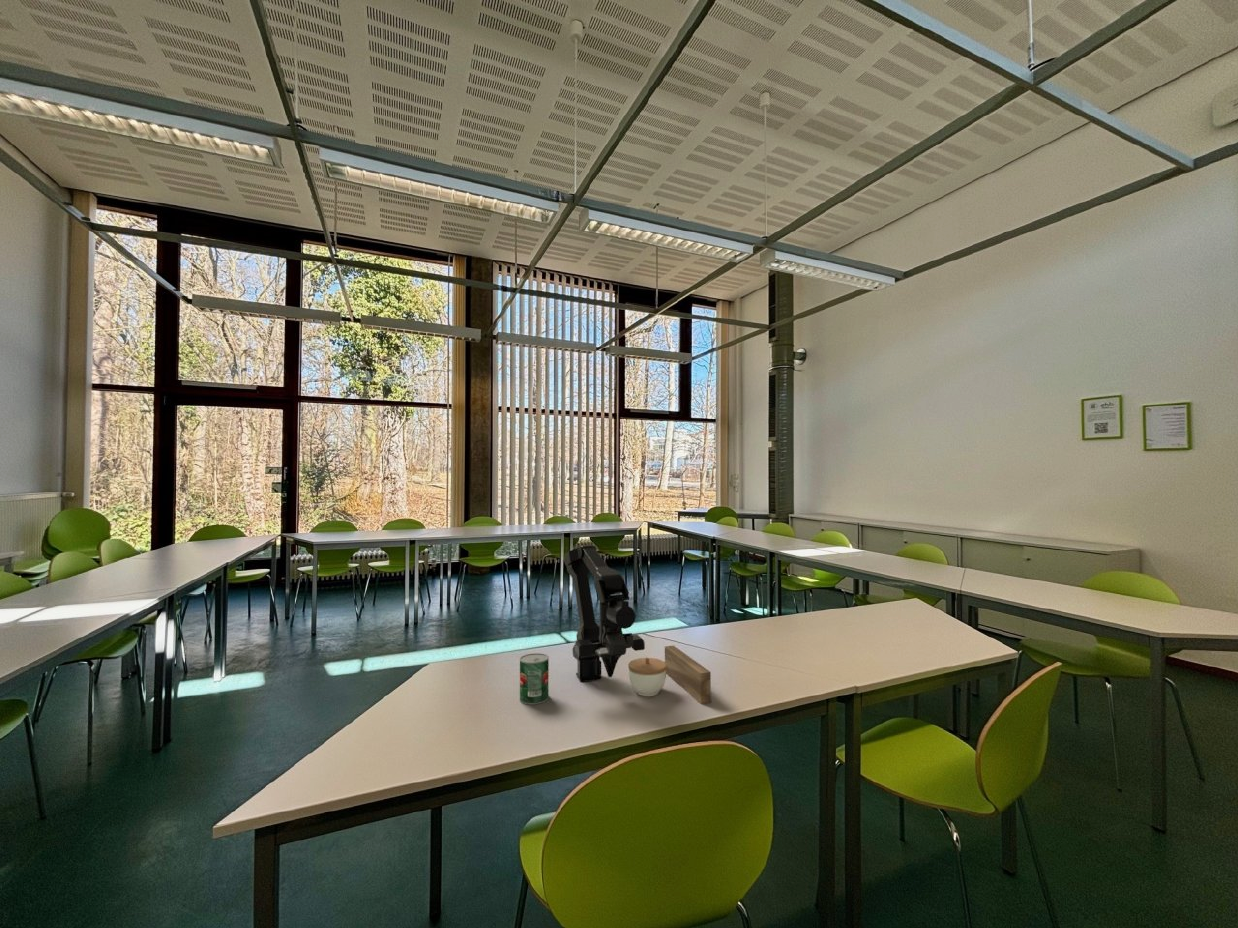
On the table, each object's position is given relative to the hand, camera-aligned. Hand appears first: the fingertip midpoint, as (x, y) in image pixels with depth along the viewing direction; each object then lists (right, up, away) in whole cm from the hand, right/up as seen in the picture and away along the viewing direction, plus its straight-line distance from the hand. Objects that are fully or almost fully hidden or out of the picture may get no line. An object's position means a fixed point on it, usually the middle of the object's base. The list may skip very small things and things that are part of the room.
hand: (610, 676), depth 138 cm
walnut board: (+22, -6, +7) cm, 24 cm away
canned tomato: (-21, -6, -1) cm, 22 cm away
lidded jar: (+10, -6, +3) cm, 12 cm away
